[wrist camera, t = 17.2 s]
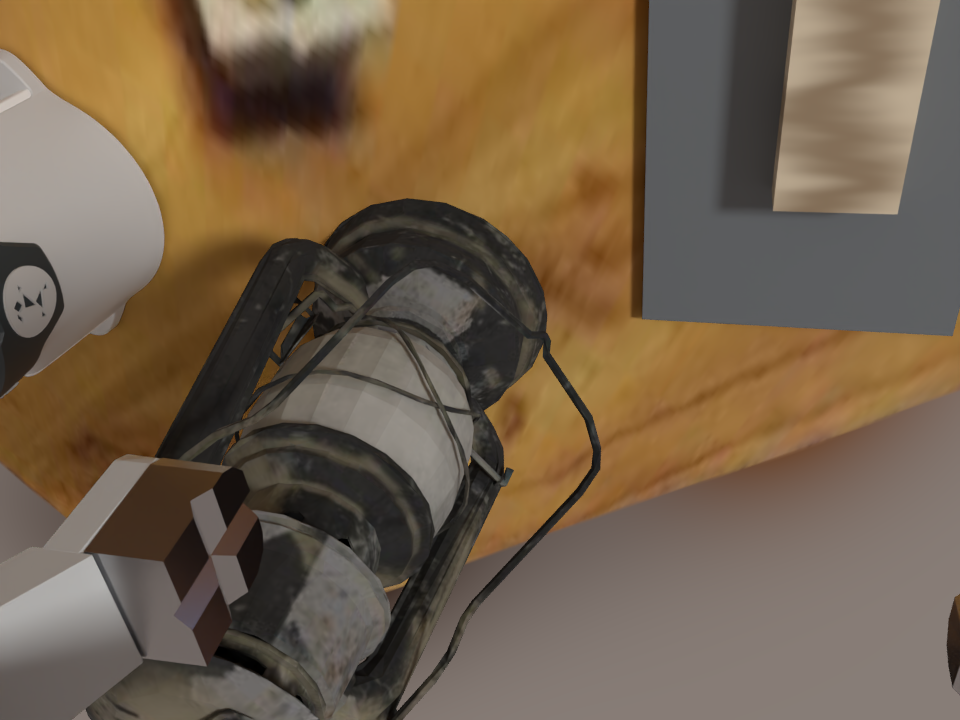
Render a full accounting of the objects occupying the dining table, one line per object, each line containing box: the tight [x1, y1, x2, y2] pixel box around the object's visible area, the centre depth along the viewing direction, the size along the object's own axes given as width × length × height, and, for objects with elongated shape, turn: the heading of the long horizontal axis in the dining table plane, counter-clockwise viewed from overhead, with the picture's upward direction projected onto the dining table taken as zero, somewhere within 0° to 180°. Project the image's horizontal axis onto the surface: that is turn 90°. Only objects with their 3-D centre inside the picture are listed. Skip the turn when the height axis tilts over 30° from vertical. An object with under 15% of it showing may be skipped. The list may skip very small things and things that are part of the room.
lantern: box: [86, 198, 601, 720], centre depth 42 cm, size 19×19×30 cm
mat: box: [642, 0, 960, 336], centre depth 43 cm, size 16×22×1 cm
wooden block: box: [772, 0, 940, 214], centre depth 40 cm, size 6×2×12 cm
